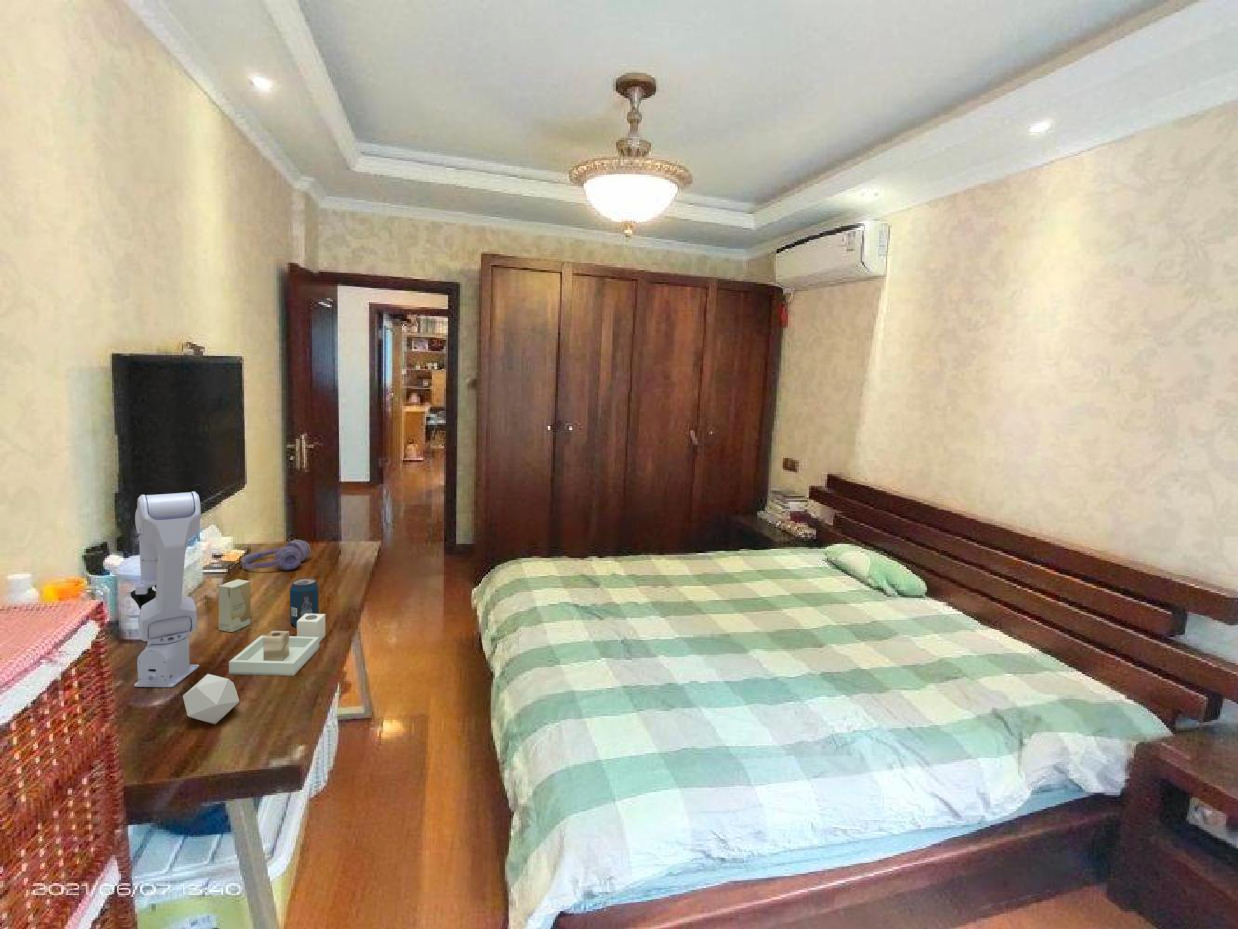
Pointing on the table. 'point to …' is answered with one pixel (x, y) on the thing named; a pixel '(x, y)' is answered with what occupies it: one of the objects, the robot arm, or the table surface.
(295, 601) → the soda can
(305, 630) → the oversize block
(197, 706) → the die
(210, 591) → the table surface
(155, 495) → the robot arm
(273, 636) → the birch block
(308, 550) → the headphones
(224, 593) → the skincare box
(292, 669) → the tray
